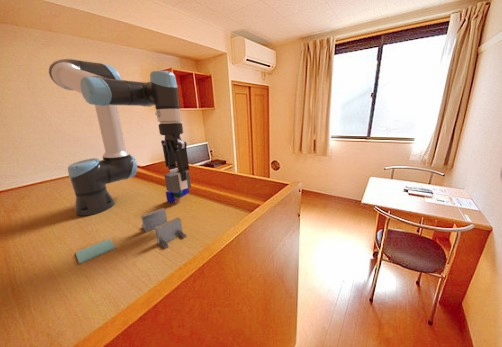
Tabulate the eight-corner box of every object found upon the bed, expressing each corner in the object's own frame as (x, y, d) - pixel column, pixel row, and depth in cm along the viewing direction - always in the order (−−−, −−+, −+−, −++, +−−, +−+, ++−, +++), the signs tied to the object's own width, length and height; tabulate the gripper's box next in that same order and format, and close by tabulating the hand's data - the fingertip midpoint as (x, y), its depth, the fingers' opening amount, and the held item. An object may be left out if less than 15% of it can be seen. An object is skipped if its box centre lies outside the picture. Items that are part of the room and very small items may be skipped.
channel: (141, 227, 74) (138, 213, 72) (162, 219, 80) (159, 205, 78) (164, 249, 61) (160, 232, 60) (187, 237, 67) (184, 221, 65)
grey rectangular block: (166, 190, 72) (164, 174, 70) (185, 184, 77) (183, 169, 75) (173, 193, 69) (170, 176, 67) (192, 187, 74) (190, 171, 72)
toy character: (191, 204, 92) (187, 173, 88) (182, 208, 89) (177, 176, 85) (177, 198, 100) (172, 169, 96) (168, 201, 97) (163, 172, 92)
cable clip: (183, 194, 106) (181, 183, 104) (189, 195, 104) (188, 184, 102) (165, 203, 95) (163, 191, 94) (172, 204, 94) (170, 192, 92)
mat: (75, 253, 61) (75, 252, 61) (109, 240, 67) (109, 238, 67) (79, 264, 56) (79, 262, 56) (115, 248, 63) (115, 247, 63)
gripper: (147, 123, 69) (159, 185, 76) (172, 123, 58) (183, 196, 64) (168, 122, 75) (177, 180, 81) (194, 121, 63) (202, 189, 70)
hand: (179, 187), depth 73 cm, fingers closed on grey rectangular block, 5 cm apart
